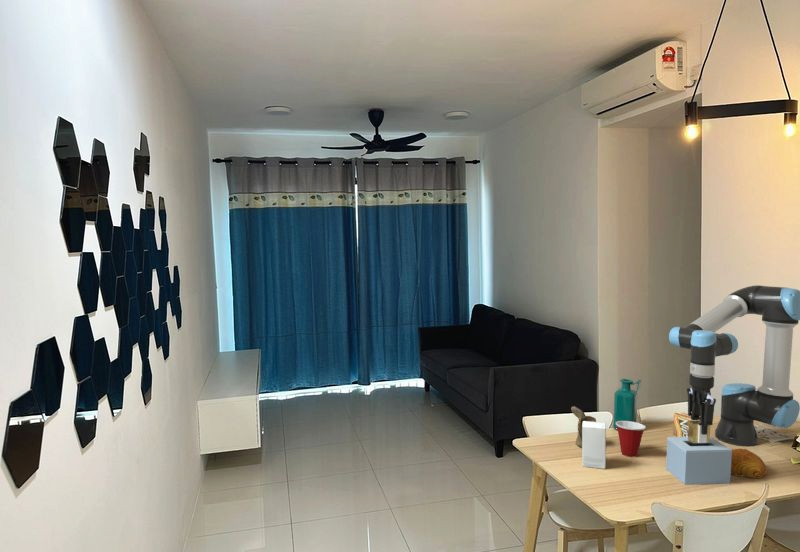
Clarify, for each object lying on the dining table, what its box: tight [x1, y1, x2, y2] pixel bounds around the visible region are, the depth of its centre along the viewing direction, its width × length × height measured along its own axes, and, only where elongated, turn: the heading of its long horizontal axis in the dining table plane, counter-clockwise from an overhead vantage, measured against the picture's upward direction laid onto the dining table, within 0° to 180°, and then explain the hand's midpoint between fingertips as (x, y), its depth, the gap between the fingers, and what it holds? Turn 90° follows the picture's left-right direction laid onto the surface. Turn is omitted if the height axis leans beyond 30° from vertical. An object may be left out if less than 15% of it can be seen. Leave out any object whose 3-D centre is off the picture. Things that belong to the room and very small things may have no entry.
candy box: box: [672, 411, 692, 437], centre depth 211 cm, size 9×4×15 cm, turn 33°
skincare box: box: [581, 421, 607, 470], centre depth 201 cm, size 8×7×16 cm
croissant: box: [731, 448, 767, 479], centre depth 197 cm, size 14×16×8 cm
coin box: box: [665, 435, 732, 485], centre depth 192 cm, size 16×12×12 cm
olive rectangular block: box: [688, 421, 711, 443], centre depth 191 cm, size 6×3×7 cm, turn 93°
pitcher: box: [612, 378, 642, 431], centre depth 237 cm, size 10×8×22 cm
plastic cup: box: [616, 421, 646, 458], centre depth 211 cm, size 11×11×12 cm
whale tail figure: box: [570, 405, 597, 449], centre depth 218 cm, size 9×14×18 cm, turn 125°
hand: (698, 440), depth 191 cm, fingers open, 3 cm apart
